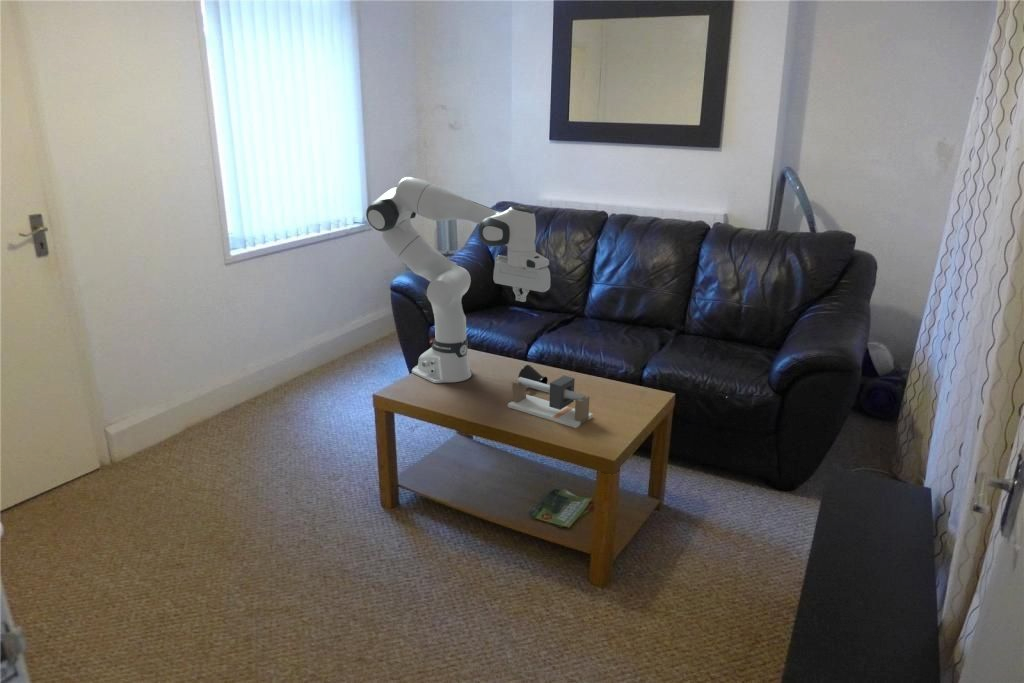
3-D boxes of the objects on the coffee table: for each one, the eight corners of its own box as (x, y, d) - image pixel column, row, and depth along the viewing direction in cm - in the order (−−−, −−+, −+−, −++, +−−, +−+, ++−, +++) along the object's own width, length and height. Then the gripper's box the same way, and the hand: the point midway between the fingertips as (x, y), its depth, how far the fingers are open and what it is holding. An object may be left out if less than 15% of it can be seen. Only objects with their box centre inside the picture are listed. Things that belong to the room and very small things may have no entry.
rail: (507, 407, 230) (508, 380, 227) (525, 397, 238) (525, 371, 234) (575, 428, 215) (577, 399, 212) (592, 417, 223) (593, 389, 220)
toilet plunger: (529, 378, 253) (549, 387, 248) (498, 400, 240) (517, 410, 236) (531, 361, 249) (550, 369, 245) (498, 381, 237) (518, 391, 232)
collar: (549, 406, 221) (549, 382, 218) (563, 398, 227) (563, 375, 224) (560, 409, 218) (560, 385, 216) (573, 401, 225) (574, 378, 222)
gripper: (489, 255, 225) (489, 297, 229) (542, 264, 213) (541, 308, 218) (501, 252, 229) (501, 293, 234) (553, 260, 218) (552, 304, 222)
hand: (520, 300), depth 226 cm, fingers closed
